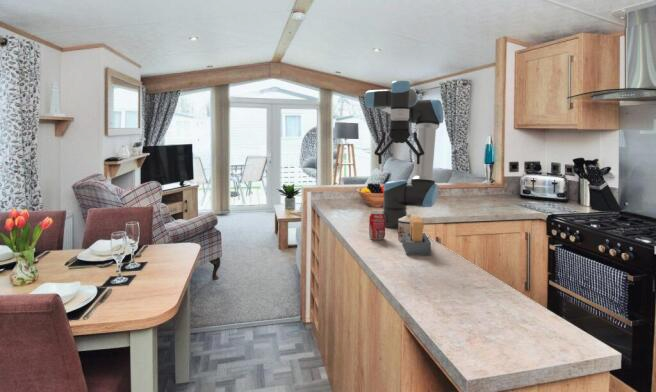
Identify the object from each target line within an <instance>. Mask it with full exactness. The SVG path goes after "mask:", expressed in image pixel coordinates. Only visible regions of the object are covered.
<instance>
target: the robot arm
mask: <svg viewBox="0 0 656 392" xmlns="http://www.w3.org/2000/svg"><path fill="white" fill-rule="evenodd" d="M364 104H365V105H364V106H366V108H369V109H371V108H372V109H379V110H381V111H384V112H385V113H387V114H389V115H390V119H391V121H390V124H389V125H390V128H389V130H390V131H389V132H386V131H384V132H382V134H381V139H380V141H379V143H378V145H377V146H376V149H375V150H374V155H375V156H377V157H378V162H377V163H378V165H380V172H381V173H384V156H383V154H385V153H386V151H387V150H388V149H389V148H390V147H391V145H392V144H393V143H394V144H406V145H407V146H408V147H409V148H410V149H411V151H412V152H413V153H414V157H413V158H414V162H413V173H414V176H413V177H412V178H411V179H410V180H411V181H410V182H408V181H407V179H398V180H390V181H386V182H385V183H384V185H383V211H382V212H384V215H385V228H391V229H392V228H393V229H394V228H395V229H398V219H400V218H403V217H404V216H406V214H408V212H407V207H418V208H432V207H433V206H434V205H435V204H436V201H437V199H438V198H437V197H438V194H439V185H438V184H437V183H436V180H435V179H434V178H433V170H434V160H435V159H434V158H435V147H436V145H435V144H436V136H437V135H436V133H437V130H438V129H439V128H440V124H442V123H444V119H445V118H444V117H445V116H444V108H443V107H444V106H443V104H442V102H441V100H440V99H431V98H430V99H419V97H418V93H417V92H416V91H415V90H414V89H411V83H410V81H408V80H394V81H392V82H391V85H390V89H373V90H371V89H370V90H367V91H366V92H365V94H364ZM410 124H415V127H416V128H417V129H418V130H417V131H418V133H417V131H413V132H410ZM388 136H389V137H390V140H389V142H387V144H386V145H384V147H383V148H382V149H381V147H382V146H383V144H384V142H385V140H386V138H388ZM410 136H411V138H412V139H413V140H414V143H415V145H416V148H415V147H414V145H413V144H412V143H411V141H410V140H409V138H410Z"/></svg>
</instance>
